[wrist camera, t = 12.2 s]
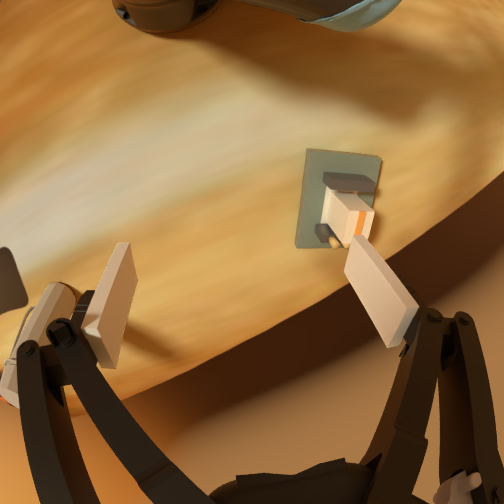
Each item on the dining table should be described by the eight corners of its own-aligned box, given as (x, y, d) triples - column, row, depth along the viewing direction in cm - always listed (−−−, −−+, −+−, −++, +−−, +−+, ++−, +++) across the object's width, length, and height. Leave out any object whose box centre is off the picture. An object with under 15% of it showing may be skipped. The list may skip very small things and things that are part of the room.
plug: (330, 191, 43) (350, 211, 37) (353, 192, 43) (375, 212, 37) (325, 220, 45) (342, 244, 39) (348, 221, 46) (367, 244, 40)
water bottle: (73, 280, 47) (25, 393, 26) (81, 311, 51) (45, 419, 30) (35, 275, 45) (-20, 376, 24) (44, 305, 49) (1, 404, 28)
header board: (306, 148, 40) (323, 160, 34) (376, 155, 42) (400, 169, 36) (294, 243, 49) (306, 268, 43) (358, 242, 50) (375, 264, 44)
